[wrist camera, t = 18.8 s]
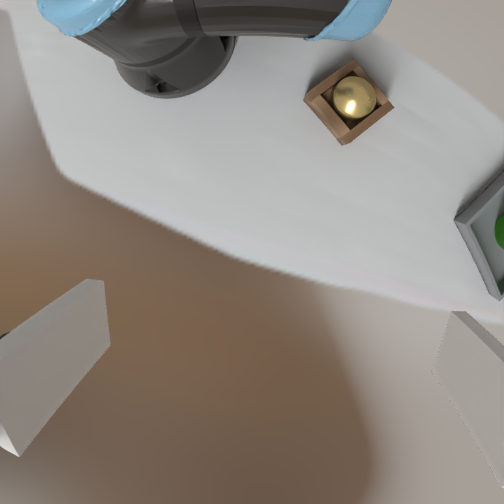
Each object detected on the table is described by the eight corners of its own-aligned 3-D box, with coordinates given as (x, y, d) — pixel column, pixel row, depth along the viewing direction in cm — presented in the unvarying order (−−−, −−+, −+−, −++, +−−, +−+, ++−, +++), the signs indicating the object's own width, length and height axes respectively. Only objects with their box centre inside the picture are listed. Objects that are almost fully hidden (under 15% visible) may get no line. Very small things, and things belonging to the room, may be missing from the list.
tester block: (303, 100, 35) (306, 93, 31) (345, 68, 34) (353, 58, 30) (341, 145, 36) (349, 143, 32) (383, 112, 35) (394, 107, 31)
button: (322, 97, 32) (326, 91, 29) (350, 76, 31) (357, 68, 28) (348, 127, 33) (354, 124, 30) (376, 106, 32) (384, 101, 29)
